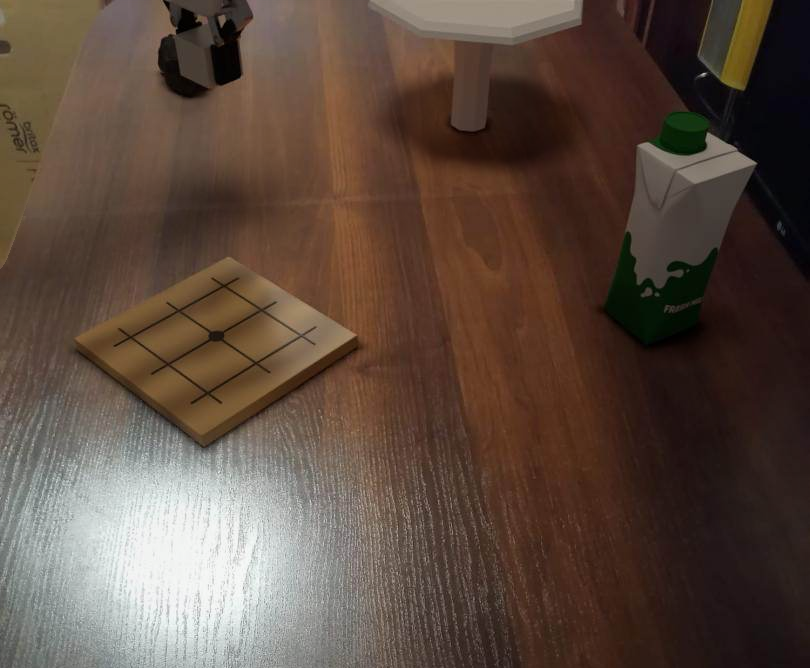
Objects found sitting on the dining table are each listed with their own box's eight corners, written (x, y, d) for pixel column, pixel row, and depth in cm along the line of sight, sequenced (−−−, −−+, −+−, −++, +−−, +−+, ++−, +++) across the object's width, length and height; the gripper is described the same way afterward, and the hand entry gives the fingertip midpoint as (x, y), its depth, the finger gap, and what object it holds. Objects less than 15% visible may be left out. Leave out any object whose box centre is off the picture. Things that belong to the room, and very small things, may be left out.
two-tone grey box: (180, 75, 93) (173, 35, 90) (214, 61, 96) (209, 22, 93) (209, 89, 91) (203, 48, 88) (243, 75, 94) (238, 35, 91)
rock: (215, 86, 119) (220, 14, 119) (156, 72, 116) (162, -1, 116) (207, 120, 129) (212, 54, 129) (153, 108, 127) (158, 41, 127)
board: (77, 350, 87) (72, 337, 86) (230, 267, 96) (228, 254, 95) (204, 447, 78) (201, 434, 77) (358, 346, 88) (357, 333, 87)
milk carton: (652, 284, 96) (705, 99, 80) (709, 328, 91) (777, 141, 75) (590, 307, 93) (632, 120, 77) (646, 354, 88) (702, 165, 72)
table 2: (512, 197, 107) (530, 53, 94) (326, 136, 115) (319, -3, 102) (602, 110, 122) (629, -25, 109) (432, 61, 131) (437, -68, 118)
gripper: (92, -146, 81) (135, 60, 95) (210, -106, 74) (237, 110, 88) (156, -160, 84) (188, 40, 99) (275, -123, 78) (291, 87, 92)
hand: (211, 71), depth 93 cm, fingers closed on two-tone grey box, 4 cm apart
